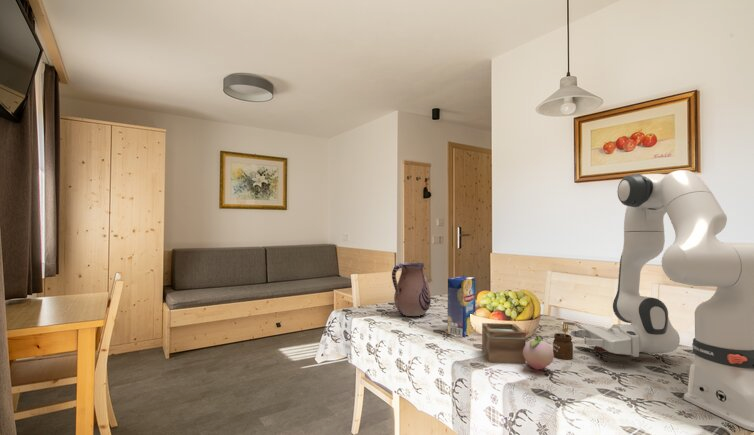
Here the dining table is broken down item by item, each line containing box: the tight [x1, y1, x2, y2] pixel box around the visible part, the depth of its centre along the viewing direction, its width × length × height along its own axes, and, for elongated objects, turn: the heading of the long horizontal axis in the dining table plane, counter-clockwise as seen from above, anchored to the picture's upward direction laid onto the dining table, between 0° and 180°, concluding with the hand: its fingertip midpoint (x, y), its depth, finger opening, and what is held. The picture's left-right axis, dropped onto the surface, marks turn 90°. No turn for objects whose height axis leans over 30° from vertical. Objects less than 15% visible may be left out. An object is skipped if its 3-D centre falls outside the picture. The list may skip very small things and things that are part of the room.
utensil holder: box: [552, 321, 574, 360], centre depth 123 cm, size 6×6×12 cm
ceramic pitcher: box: [391, 261, 432, 317], centre depth 179 cm, size 18×21×25 cm
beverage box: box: [447, 275, 476, 338], centre depth 150 cm, size 7×11×22 cm, turn 141°
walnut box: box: [481, 322, 527, 364], centre depth 122 cm, size 11×11×10 cm
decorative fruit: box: [523, 335, 555, 371], centre depth 111 cm, size 9×8×10 cm
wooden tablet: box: [593, 346, 627, 357], centre depth 136 cm, size 27×10×2 cm, turn 131°
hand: (578, 337), depth 123 cm, fingers open, 8 cm apart
